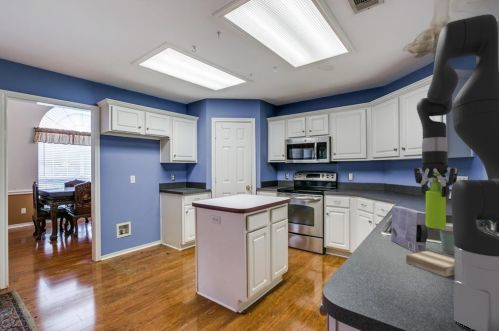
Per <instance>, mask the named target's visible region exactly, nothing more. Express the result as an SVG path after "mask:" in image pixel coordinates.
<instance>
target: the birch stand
mask: <svg viewBox="0 0 499 331" xmlns="http://www.w3.org/2000/svg"><path fill="white" fill-rule="evenodd" d="M405 260H406V262H405V263H406V264H407V265H408V264H409V265H411V266H414V267H417V268H419V269H422V270H424V271H427V272H431V273H433V274H436V275H439V276H441V277H444V278H446V277H450V276H454V257H451V256H447V255H443V254H440V253H437V252H433V251H430V250H426V251H424V252H419V253H409V254H406V256H405Z"/></svg>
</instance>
